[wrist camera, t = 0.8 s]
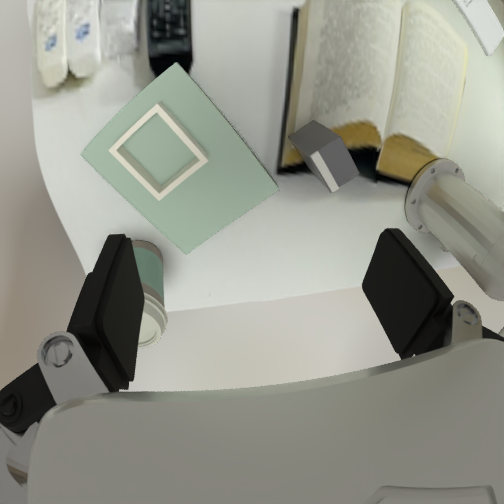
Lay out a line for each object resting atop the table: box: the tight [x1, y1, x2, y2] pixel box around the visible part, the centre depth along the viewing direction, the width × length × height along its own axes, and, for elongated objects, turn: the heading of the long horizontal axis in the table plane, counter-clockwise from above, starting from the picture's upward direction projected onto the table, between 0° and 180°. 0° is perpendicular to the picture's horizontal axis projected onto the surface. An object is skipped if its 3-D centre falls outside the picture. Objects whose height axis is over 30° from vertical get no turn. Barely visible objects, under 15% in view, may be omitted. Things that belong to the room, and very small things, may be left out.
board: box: [80, 62, 279, 254], centre depth 29 cm, size 18×14×1 cm
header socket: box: [108, 101, 209, 201], centre depth 26 cm, size 8×7×2 cm
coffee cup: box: [132, 240, 168, 349], centre depth 31 cm, size 8×9×12 cm
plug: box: [288, 120, 359, 193], centre depth 27 cm, size 4×4×7 cm
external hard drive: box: [452, 0, 504, 56], centre depth 18 cm, size 2×8×12 cm
